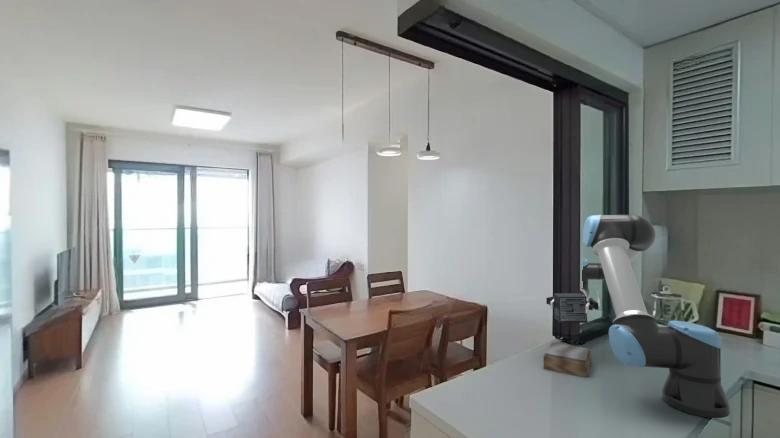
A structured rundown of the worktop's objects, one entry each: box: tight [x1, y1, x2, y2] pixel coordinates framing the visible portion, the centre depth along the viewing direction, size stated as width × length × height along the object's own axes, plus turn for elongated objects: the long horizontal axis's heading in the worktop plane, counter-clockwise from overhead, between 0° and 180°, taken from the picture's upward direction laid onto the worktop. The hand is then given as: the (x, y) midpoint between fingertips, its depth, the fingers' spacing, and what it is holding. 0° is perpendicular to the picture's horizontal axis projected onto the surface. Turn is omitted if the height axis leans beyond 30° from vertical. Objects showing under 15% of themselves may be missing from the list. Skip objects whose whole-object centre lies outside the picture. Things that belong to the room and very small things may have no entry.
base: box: [543, 342, 592, 378], centre depth 135 cm, size 14×14×6 cm
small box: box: [553, 292, 588, 324], centre depth 145 cm, size 11×6×10 cm, turn 84°
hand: (568, 307), depth 142 cm, fingers closed on small box, 12 cm apart
